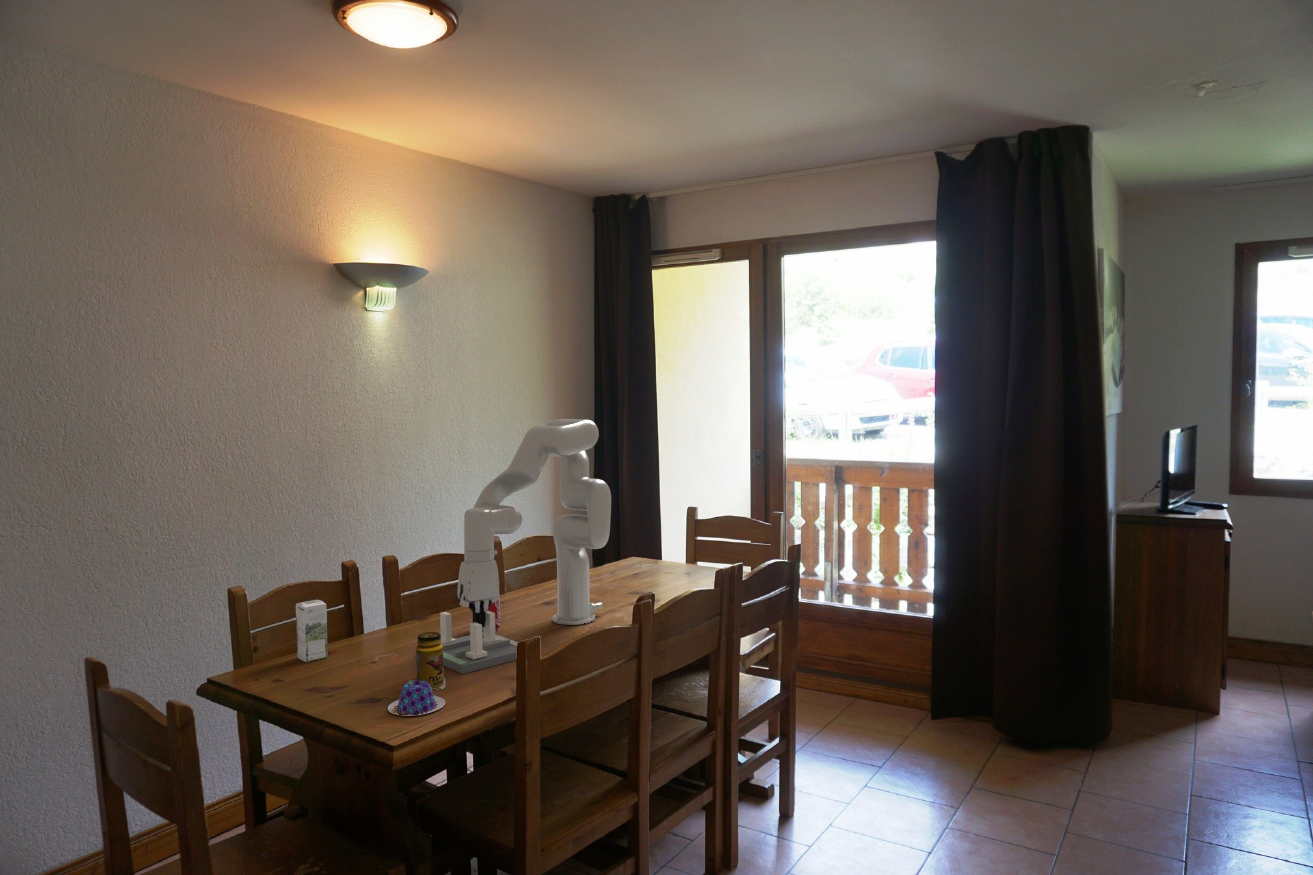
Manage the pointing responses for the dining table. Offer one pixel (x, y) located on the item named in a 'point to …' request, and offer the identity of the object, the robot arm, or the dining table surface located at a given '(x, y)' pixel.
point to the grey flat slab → (495, 655)
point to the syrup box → (311, 630)
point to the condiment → (430, 660)
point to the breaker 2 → (476, 642)
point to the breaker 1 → (446, 628)
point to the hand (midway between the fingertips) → (479, 626)
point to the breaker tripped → (489, 629)
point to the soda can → (495, 609)
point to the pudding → (417, 699)
